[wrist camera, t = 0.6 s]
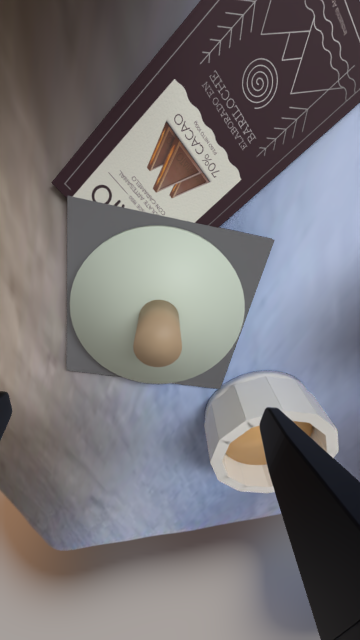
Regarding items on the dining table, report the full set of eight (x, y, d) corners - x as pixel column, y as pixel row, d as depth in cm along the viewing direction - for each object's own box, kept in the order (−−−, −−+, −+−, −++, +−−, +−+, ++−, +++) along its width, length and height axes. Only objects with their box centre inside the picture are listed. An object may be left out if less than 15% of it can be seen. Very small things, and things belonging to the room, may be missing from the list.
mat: (271, 238, 19) (274, 240, 18) (218, 384, 25) (220, 389, 24) (70, 195, 17) (67, 195, 16) (68, 365, 23) (66, 370, 22)
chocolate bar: (386, 78, 14) (153, 284, 19) (374, 84, 15) (154, 280, 20) (312, -136, 11) (51, 182, 16) (301, -114, 12) (57, 182, 17)
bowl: (328, 378, 25) (362, 419, 21) (284, 450, 30) (305, 495, 26) (221, 363, 24) (233, 404, 19) (193, 441, 29) (199, 488, 24)
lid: (265, 245, 18) (297, 265, 14) (216, 384, 24) (227, 429, 20) (75, 206, 16) (42, 214, 12) (72, 366, 22) (50, 411, 18)
